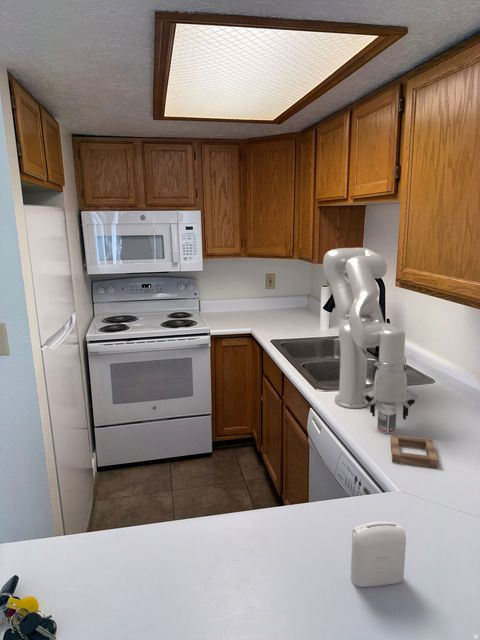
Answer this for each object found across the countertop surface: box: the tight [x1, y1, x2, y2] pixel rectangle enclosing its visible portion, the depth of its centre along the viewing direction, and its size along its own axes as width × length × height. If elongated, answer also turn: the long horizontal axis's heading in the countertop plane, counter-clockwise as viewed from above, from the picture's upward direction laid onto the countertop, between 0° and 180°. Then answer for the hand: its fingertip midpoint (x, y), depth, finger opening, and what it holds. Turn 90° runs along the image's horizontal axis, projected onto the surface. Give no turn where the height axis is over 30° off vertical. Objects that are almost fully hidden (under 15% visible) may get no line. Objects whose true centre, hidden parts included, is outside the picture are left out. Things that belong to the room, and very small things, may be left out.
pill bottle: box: [376, 401, 397, 434], centre depth 142 cm, size 6×6×10 cm
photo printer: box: [350, 521, 407, 588], centre depth 83 cm, size 10×4×12 cm, turn 96°
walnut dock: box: [389, 434, 439, 469], centre depth 127 cm, size 12×12×2 cm
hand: (388, 416), depth 141 cm, fingers open, 9 cm apart
